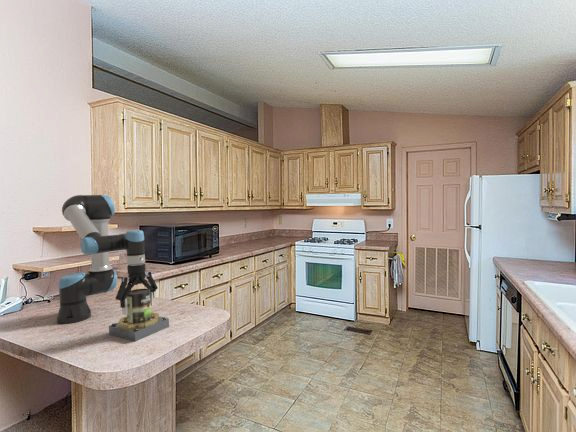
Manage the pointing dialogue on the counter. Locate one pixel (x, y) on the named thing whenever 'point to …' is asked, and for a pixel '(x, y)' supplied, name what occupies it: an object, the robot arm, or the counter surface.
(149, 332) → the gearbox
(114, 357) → the counter surface
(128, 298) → the coffee can
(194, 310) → the counter surface
